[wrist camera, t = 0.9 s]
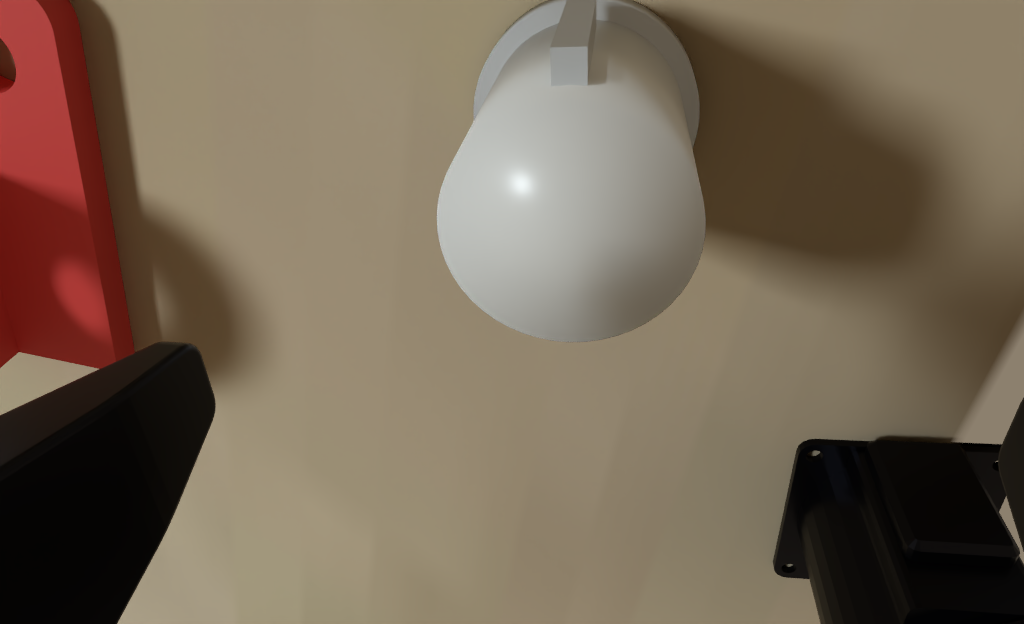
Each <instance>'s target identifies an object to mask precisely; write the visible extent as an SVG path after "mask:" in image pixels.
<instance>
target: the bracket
mask: <svg viewBox="0 0 1024 624" xmlns="http://www.w3.org/2000/svg"><path fill="white" fill-rule="evenodd" d="M0 38H1V39H2V41H3V42H4V43H5V44H6V46H7V47H8V49H9V50H10V52H11V54H12V56H13V59H14V62H15V66H16V79H15V82H14V81H11V80H9V79H6V78H5V77H3V76H1V75H0V368H1V367H2V366H3V365H4V364H5V363H6V362H8V361H9V360H10V359H11V358H12V357H13V356H15V355H16V354H17V353H18V352H22V353H27V354H32V355H37V356H41V357H46V358H51V359H56V360H61V361H66V362H70V363H75V364H80V365H85V366H90V367H94V368H99V369H101V368H103V367H105V366H108V365H110V364H112V363H114V362H116V361H118V360H121V359H123V358H125V357H127V356H129V355H131V354H133V353H135V351H134V345H133V339H132V333H131V327H130V321H129V316H128V310H127V304H126V298H125V292H124V286H123V280H122V274H121V268H120V262H119V257H118V251H117V245H116V239H115V233H114V227H113V221H112V215H111V209H110V204H109V198H108V192H107V186H106V180H105V174H104V168H103V162H102V156H101V150H100V145H99V139H98V133H97V127H96V121H95V115H94V109H93V103H92V97H91V91H90V86H89V80H88V74H87V68H86V62H85V56H84V50H83V44H82V38H81V32H80V27H79V22H78V18H77V16H76V13H75V11H74V9H73V7H72V5H71V3H70V2H69V0H0Z"/></svg>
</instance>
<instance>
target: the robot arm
mask: <svg viewBox="0 0 1024 624" xmlns="http://www.w3.org/2000/svg"><path fill="white" fill-rule="evenodd" d="M214 414H215V397H214V393H213V390H212V387H211V384H210V381H209V378H208V375H207V372H206V368H205V365H204V362H203V359H202V356H201V354H200V351H199V350H198V349H197V347H196V346H194V345H192V344H190V343H177V342H158V343H155V344H153V345H151V346H148V347H146V348H144V349H142V350H140V351H138V352H136V353H133V354H131V355H129V356H127V357H125V358H123V359H121V360H118V361H116V362H114V363H112V364H110V365H108V366H105V367H103V368H101V369H99V370H97V371H95V372H93V373H90V374H88V375H86V376H84V377H82V378H80V379H78V380H75V381H73V382H71V383H69V384H67V385H65V386H62V387H60V388H58V389H56V390H54V391H52V392H50V393H47V394H45V395H43V396H41V397H39V398H37V399H35V400H32V401H30V402H28V403H26V404H24V405H22V406H19V407H17V408H15V409H13V410H11V411H9V412H7V413H4V414H2V415H0V624H117V623H118V621H119V619H120V617H121V615H122V614H123V612H124V610H125V608H126V606H127V604H128V602H129V601H130V599H131V597H132V595H133V593H134V591H135V589H136V588H137V586H138V584H139V582H140V580H141V578H142V576H143V575H144V573H145V571H146V569H147V567H148V565H149V564H150V562H151V560H152V558H153V556H154V554H155V552H156V551H157V549H158V547H159V545H160V543H161V541H162V539H163V537H164V535H165V533H166V531H167V529H168V527H169V524H170V522H171V520H172V518H173V515H174V513H175V511H176V509H177V506H178V504H179V501H180V499H181V496H182V494H183V492H184V489H185V487H186V484H187V482H188V479H189V477H190V474H191V472H192V470H193V467H194V465H195V462H196V460H197V457H198V455H199V453H200V450H201V448H202V445H203V443H204V440H205V438H206V435H207V433H208V431H209V428H210V426H211V423H212V421H213V418H214ZM814 450H817V451H820V454H818V455H817V456H808V455H807V454H808V453H809V452H810V451H814ZM995 461H998V462H995ZM1006 496H1007V499H1008V502H1009V506H1010V509H1011V512H1012V515H1013V518H1014V522H1015V525H1016V528H1017V531H1018V534H1019V538H1020V541H1021V544H1022V547H1023V551H1024V398H1023V400H1022V402H1021V403H1020V405H1019V408H1018V410H1017V412H1016V415H1015V417H1014V419H1013V422H1012V424H1011V426H1010V428H1009V430H1008V432H1007V435H1006V437H1005V439H1004V441H1003V444H984V443H963V442H955V443H954V444H949V443H927V442H904V441H882V440H876V441H850V440H828V439H810V440H807V441H804V442H802V443H801V444H800V445H799V446H798V448H797V450H796V455H795V460H794V464H793V469H792V474H791V479H790V483H789V488H788V493H787V498H786V503H785V507H784V512H783V517H782V522H781V526H780V531H779V536H778V541H777V545H776V550H775V555H774V560H773V565H774V570H775V572H776V573H777V574H778V575H780V576H782V577H789V578H803V579H810V583H811V587H812V591H813V595H814V599H815V603H816V607H817V611H818V615H819V619H820V623H821V624H1024V564H1023V562H1022V560H1021V559H1020V557H1019V554H1020V551H1019V548H1018V546H1017V544H1016V542H1015V540H1014V539H1013V537H1012V535H1011V533H1010V531H1009V530H1008V528H1007V526H1006V524H1005V522H1004V521H1003V519H1002V517H1001V516H1000V513H999V510H1000V508H1001V506H1002V504H1003V502H1004V499H1005V497H1006ZM785 564H793V566H791V567H784V566H783V565H785Z"/></svg>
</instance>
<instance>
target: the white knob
mask: <svg viewBox="0 0 1024 624" xmlns="http://www.w3.org/2000/svg"><path fill="white" fill-rule="evenodd" d="M699 114H700V102H699V94H698V87H697V84H696V80H695V76H694V73H693V69H692V66H691V62H690V60H689V58H688V55H687V53H686V51H685V49H684V47H683V45H682V44H681V42H680V40H679V39H678V37H677V36H676V34H675V33H674V32H673V31H672V29H671V28H670V27H669V26H668V25H667V24H666V23H665V22H664V21H663V20H662V19H661V18H660V17H659V16H658V15H656V14H655V13H653V12H652V11H651V10H649V9H648V8H646V7H645V6H643V5H641V4H639V3H637V2H635V1H633V0H548V1H545V2H543V3H541V4H539V5H537V6H535V7H534V8H532V9H530V10H529V11H527V12H526V13H525V14H523V15H522V16H521V17H520V18H518V19H517V20H516V21H515V22H514V23H513V24H512V25H511V26H510V27H509V28H508V29H507V30H506V31H505V33H504V34H503V35H502V37H501V38H500V39H499V41H498V42H497V44H496V45H495V47H494V49H493V50H492V52H491V54H490V55H489V57H488V59H487V61H486V63H485V64H484V67H483V69H482V72H481V74H480V77H479V80H478V84H477V88H476V92H475V99H474V122H473V124H472V126H471V128H470V130H469V131H468V133H467V135H466V137H465V139H464V141H463V143H462V145H461V146H460V148H459V150H458V152H457V154H456V156H455V158H454V160H453V162H452V163H451V165H450V167H449V169H448V171H447V174H446V176H445V179H444V181H443V184H442V187H441V191H440V195H439V200H438V209H437V229H438V236H439V241H440V247H441V250H442V253H443V256H444V258H445V261H446V263H447V265H448V267H449V269H450V271H451V274H452V275H453V277H454V278H455V280H456V281H457V283H458V284H459V286H460V287H461V289H462V290H463V291H464V292H465V293H466V295H467V296H468V297H469V298H470V299H471V300H472V301H473V302H474V303H475V304H476V305H477V306H478V307H479V308H481V309H482V310H483V311H484V312H486V313H487V314H488V315H490V316H491V317H493V318H494V319H495V320H497V321H499V322H501V323H502V324H504V325H506V326H508V327H510V328H512V329H514V330H517V331H519V332H522V333H524V334H527V335H531V336H534V337H537V338H542V339H547V340H552V341H562V342H587V341H595V340H602V339H606V338H610V337H614V336H618V335H621V334H623V333H626V332H629V331H631V330H633V329H635V328H637V327H639V326H641V325H643V324H645V323H647V322H649V321H650V320H651V319H653V318H654V317H656V316H657V315H659V314H660V313H661V312H663V311H664V310H665V309H666V308H667V307H668V306H669V305H671V304H672V303H673V301H674V300H675V299H676V298H677V297H678V296H679V295H680V294H681V293H682V291H683V290H684V288H685V287H686V285H687V284H688V282H689V281H690V279H691V277H692V275H693V273H694V271H695V269H696V267H697V265H698V262H699V259H700V256H701V253H702V250H703V245H704V239H705V228H706V216H705V208H704V201H703V196H702V191H701V187H700V182H699V177H698V173H697V168H696V164H695V159H694V154H693V150H692V148H693V146H694V142H695V139H696V135H697V131H698V125H699Z"/></svg>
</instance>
